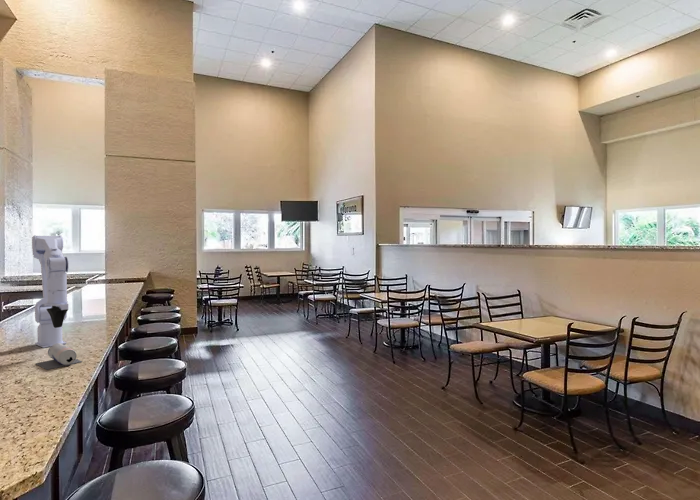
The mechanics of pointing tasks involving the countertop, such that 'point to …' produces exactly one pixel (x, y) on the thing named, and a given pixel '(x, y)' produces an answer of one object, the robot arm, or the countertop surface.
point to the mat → (54, 364)
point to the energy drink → (62, 354)
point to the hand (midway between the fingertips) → (57, 327)
